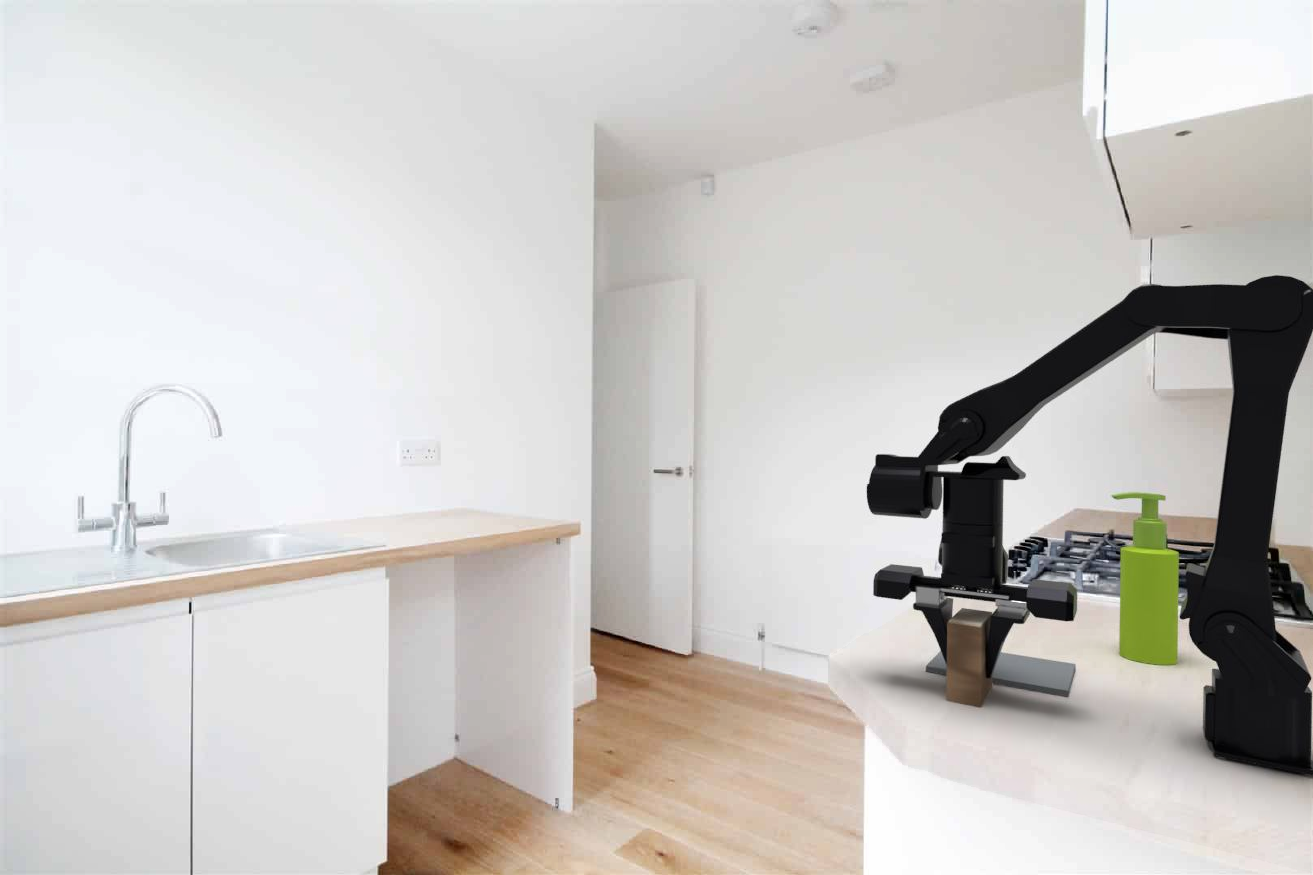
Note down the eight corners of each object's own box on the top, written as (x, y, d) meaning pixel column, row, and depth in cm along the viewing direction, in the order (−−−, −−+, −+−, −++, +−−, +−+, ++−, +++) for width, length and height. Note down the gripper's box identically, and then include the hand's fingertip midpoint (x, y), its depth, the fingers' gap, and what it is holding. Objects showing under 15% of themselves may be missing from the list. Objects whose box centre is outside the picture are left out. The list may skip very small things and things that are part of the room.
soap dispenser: (1105, 647, 94) (1107, 490, 94) (1169, 653, 91) (1171, 492, 91) (1115, 660, 88) (1117, 493, 88) (1183, 667, 86) (1186, 495, 86)
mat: (1075, 669, 85) (1075, 663, 85) (1067, 696, 75) (1067, 690, 75) (947, 648, 92) (947, 643, 92) (925, 671, 83) (926, 665, 83)
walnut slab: (992, 687, 78) (993, 611, 78) (980, 707, 72) (981, 625, 72) (960, 681, 80) (961, 607, 80) (946, 700, 74) (947, 620, 74)
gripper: (1081, 522, 77) (1079, 670, 77) (900, 510, 88) (899, 641, 88) (1074, 532, 68) (1071, 701, 68) (872, 518, 78) (870, 665, 78)
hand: (970, 674), depth 76 cm, fingers closed on walnut slab, 3 cm apart
